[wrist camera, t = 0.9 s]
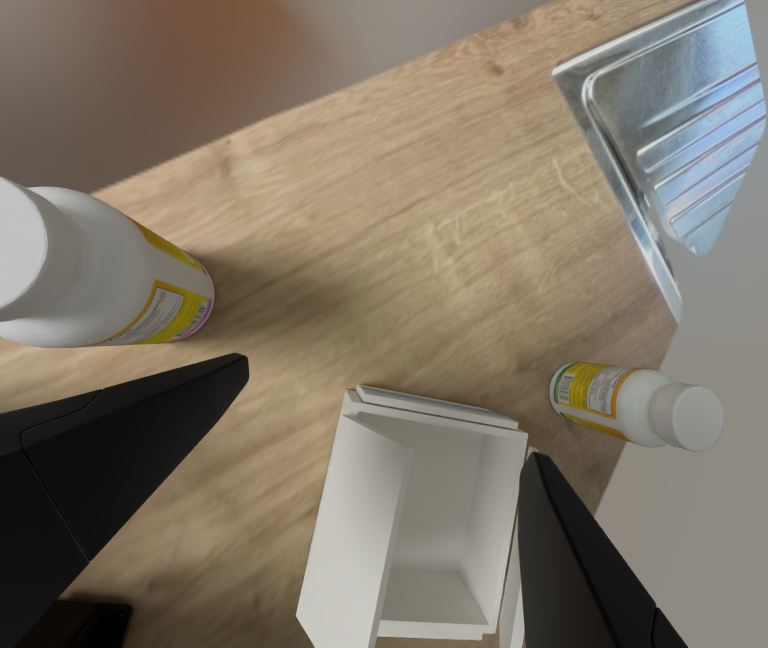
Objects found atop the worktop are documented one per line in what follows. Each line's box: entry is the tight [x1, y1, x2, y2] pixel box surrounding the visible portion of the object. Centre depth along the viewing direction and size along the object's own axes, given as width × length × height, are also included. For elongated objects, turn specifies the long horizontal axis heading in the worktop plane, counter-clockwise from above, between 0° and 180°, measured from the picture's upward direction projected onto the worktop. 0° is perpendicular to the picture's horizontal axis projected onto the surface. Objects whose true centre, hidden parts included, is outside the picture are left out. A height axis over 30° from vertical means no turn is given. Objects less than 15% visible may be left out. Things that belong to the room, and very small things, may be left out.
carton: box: [306, 384, 528, 640], centre depth 22 cm, size 14×13×5 cm
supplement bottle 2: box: [549, 362, 724, 452], centre depth 23 cm, size 5×5×10 cm
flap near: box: [296, 414, 414, 648], centre depth 16 cm, size 11×6×1 cm
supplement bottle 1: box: [0, 176, 215, 348], centre depth 16 cm, size 7×7×13 cm
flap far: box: [500, 446, 539, 648], centre depth 18 cm, size 11×6×1 cm
